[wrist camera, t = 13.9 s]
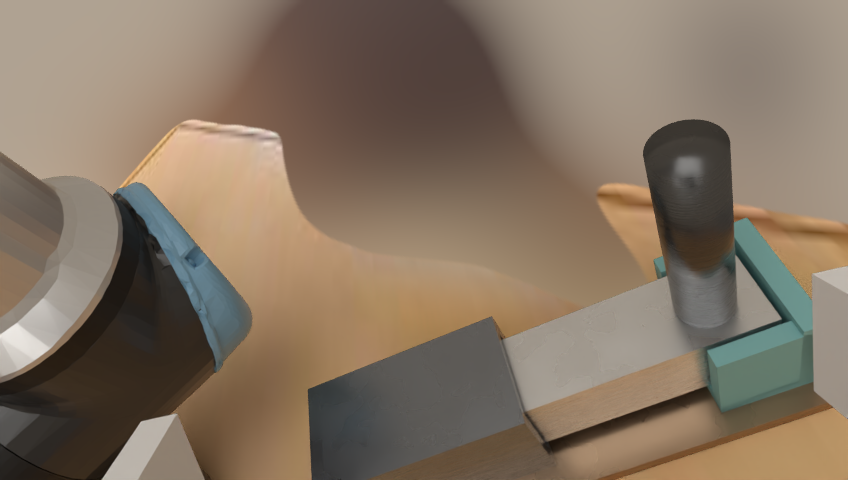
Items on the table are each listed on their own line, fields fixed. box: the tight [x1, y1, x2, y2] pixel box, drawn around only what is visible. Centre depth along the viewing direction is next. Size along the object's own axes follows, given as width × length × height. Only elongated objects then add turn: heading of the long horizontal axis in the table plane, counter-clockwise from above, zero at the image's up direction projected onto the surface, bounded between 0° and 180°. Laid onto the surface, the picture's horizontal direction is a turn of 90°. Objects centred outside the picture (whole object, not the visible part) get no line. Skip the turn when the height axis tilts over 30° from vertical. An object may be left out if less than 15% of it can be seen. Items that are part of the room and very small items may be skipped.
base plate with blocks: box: [308, 316, 833, 480], centre depth 36 cm, size 29×10×8 cm, turn 101°
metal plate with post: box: [501, 120, 782, 442], centre depth 31 cm, size 16×5×17 cm, turn 101°
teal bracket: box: [654, 218, 814, 413], centre depth 34 cm, size 6×7×6 cm
